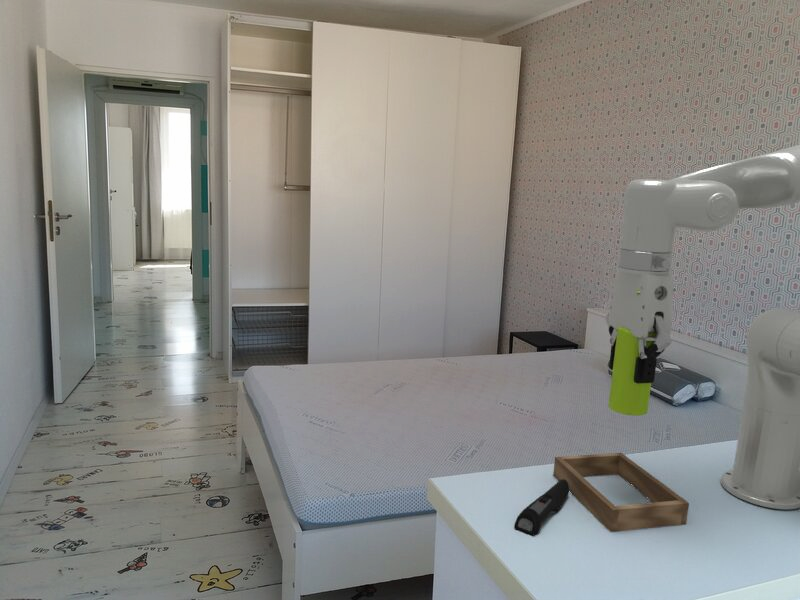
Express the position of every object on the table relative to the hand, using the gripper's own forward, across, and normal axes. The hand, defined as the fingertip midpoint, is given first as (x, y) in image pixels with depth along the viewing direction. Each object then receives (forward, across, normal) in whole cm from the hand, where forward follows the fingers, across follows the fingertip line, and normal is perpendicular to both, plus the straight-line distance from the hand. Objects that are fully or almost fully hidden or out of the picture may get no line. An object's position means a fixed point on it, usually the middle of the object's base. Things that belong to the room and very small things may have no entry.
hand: (630, 374), depth 100 cm
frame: (+21, 0, 0) cm, 21 cm away
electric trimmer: (+22, -2, +14) cm, 26 cm away
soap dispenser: (+6, 0, 0) cm, 6 cm away
